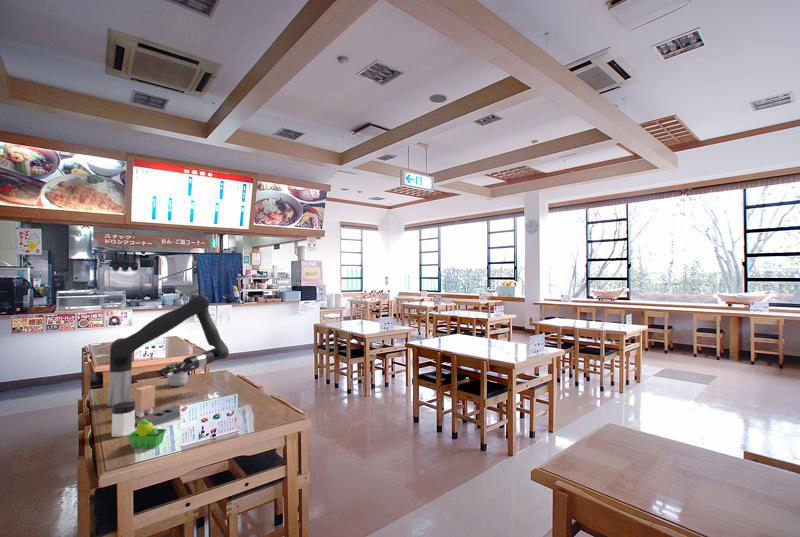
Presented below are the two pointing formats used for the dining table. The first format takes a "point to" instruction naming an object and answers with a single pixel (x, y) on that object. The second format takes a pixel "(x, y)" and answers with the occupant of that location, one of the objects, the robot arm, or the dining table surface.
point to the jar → (123, 419)
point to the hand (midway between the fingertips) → (167, 371)
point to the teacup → (177, 378)
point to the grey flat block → (161, 415)
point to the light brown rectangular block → (144, 400)
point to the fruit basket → (146, 435)
